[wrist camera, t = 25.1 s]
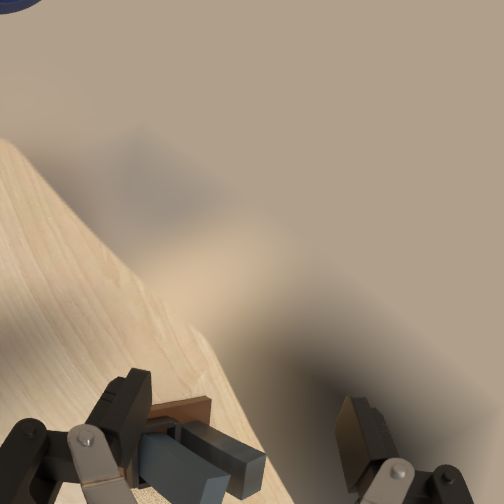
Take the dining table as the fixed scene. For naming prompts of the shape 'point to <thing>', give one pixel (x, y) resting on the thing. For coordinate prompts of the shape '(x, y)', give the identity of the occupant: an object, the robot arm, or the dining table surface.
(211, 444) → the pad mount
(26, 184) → the dining table surface
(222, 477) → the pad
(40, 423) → the robot arm
